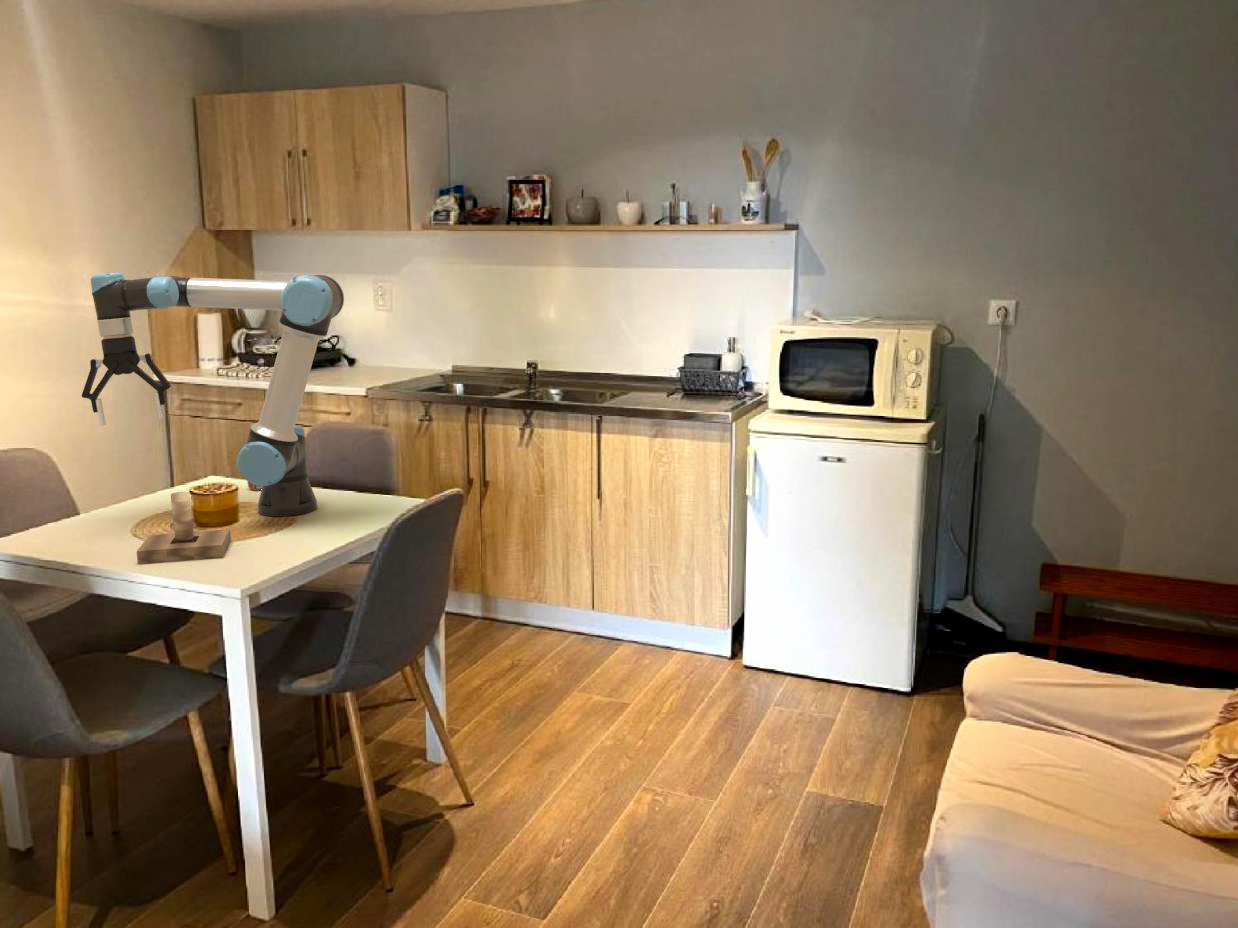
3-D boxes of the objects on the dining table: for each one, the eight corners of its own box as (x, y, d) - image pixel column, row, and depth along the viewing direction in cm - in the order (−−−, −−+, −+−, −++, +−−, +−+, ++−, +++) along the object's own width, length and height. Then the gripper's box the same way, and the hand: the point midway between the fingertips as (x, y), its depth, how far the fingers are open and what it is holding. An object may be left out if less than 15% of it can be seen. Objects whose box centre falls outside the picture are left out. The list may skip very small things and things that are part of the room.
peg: (196, 549, 243) (190, 491, 240) (193, 554, 239) (187, 495, 236) (178, 550, 242) (172, 492, 239) (174, 555, 238) (168, 496, 235)
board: (231, 541, 249) (229, 529, 248) (222, 557, 235) (221, 544, 235) (150, 547, 245) (149, 535, 244) (137, 564, 232) (136, 551, 231)
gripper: (173, 331, 262) (187, 413, 266) (65, 341, 256) (81, 426, 260) (169, 332, 255) (183, 416, 259) (58, 342, 249) (74, 429, 253)
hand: (132, 421), depth 259 cm, fingers open, 13 cm apart
